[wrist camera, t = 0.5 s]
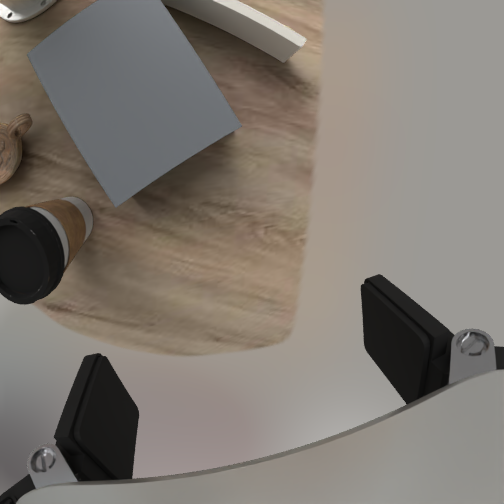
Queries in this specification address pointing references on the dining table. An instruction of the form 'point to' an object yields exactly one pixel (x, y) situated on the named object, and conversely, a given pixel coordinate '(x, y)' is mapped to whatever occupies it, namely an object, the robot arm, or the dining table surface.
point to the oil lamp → (12, 145)
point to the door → (244, 25)
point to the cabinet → (130, 92)
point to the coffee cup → (40, 246)
